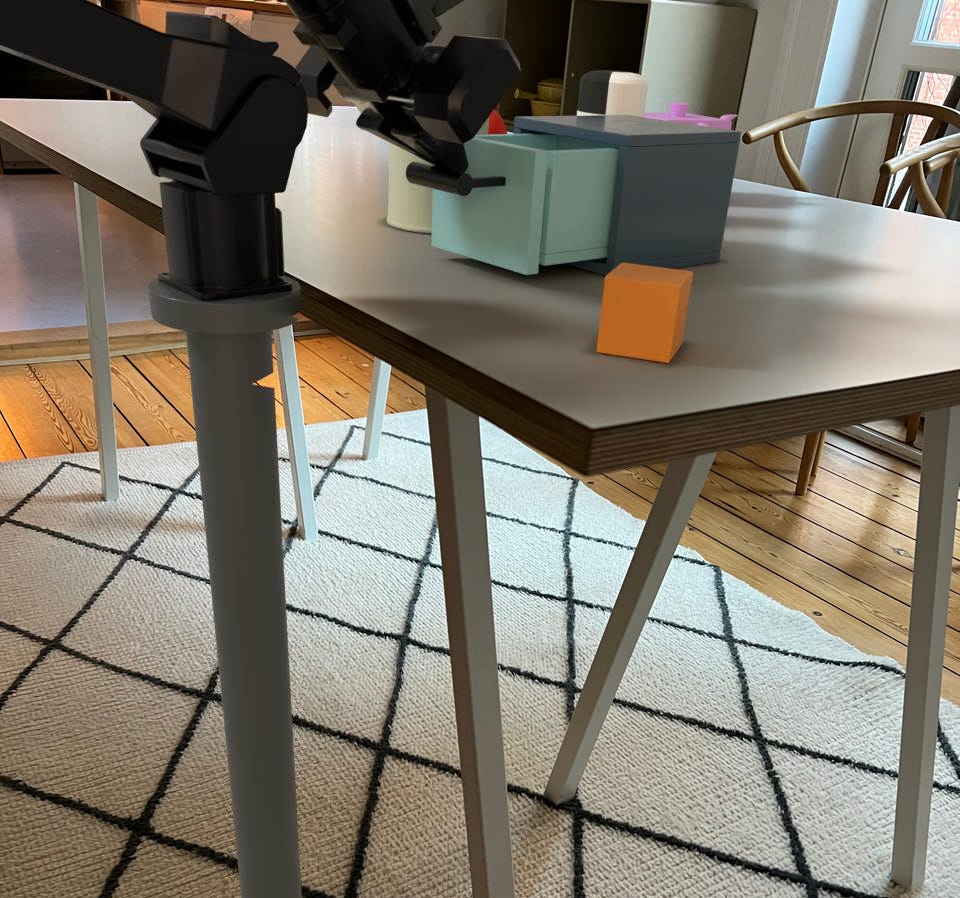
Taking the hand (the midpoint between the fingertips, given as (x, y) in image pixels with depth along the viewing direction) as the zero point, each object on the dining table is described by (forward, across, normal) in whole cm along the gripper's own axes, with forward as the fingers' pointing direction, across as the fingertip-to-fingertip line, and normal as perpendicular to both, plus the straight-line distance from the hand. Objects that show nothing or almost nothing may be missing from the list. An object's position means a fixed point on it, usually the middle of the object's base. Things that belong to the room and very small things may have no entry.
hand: (461, 171), depth 74 cm
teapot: (+40, +21, -29) cm, 53 cm away
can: (+13, +17, -3) cm, 22 cm away
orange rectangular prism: (+3, -21, +7) cm, 22 cm away
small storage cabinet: (+18, 0, -7) cm, 19 cm away
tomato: (+30, +42, -20) cm, 55 cm away
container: (+27, +14, -16) cm, 34 cm away
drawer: (+9, 0, 0) cm, 9 cm away
